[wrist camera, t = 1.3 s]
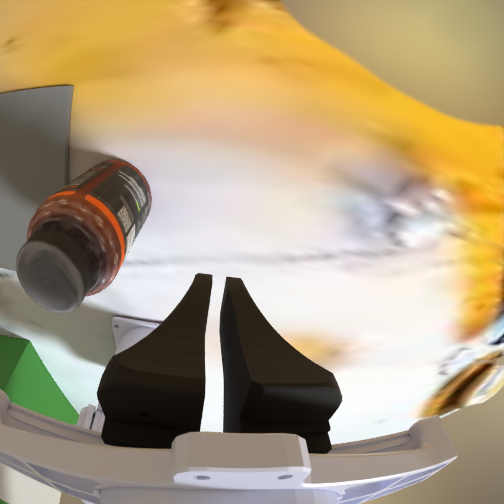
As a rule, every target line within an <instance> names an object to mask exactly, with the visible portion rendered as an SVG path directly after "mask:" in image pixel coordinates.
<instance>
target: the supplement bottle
mask: <svg viewBox="0 0 504 504" xmlns="http://www.w3.org/2000/svg"><path fill="white" fill-rule="evenodd" d="M151 202H152V197H151V191H150V187H149V184H148V182H147V180H146V178H145V177H144V175H143V174H142V173H141V172H140V171H139V170H138V169H137V168H135V167H134V166H132V165H131V164H128V163H126V162H123V161H117V160H111V161H106V162H102V163H100V164H98V165H96V166H94V167H93V168H91V169H89V170H88V171H86V172H85V173H83V174H82V175H80V176H79V177H77V178H76V179H75V180H73V181H72V182H70V183H69V184H67V185H66V186H65V187H63V188H62V189H60V190H59V191H58V192H56V193H55V194H53V195H52V196H51V197H50V198H49V199H47V200H46V201H45V202H43V203H42V204H41V205H40V206H39V207H38V208H37V210H36V211H35V213H34V214H33V216H32V218H31V220H30V223H29V226H28V231H27V242H26V243H25V244H24V245H23V246H22V247H21V249H20V250H19V252H18V254H17V258H16V271H17V276H18V279H19V281H20V283H21V285H22V287H23V289H24V290H25V292H26V293H27V294H28V295H29V297H30V298H31V299H32V300H33V301H34V302H36V303H37V304H38V305H40V306H41V307H43V308H45V309H47V310H49V311H52V312H56V313H69V312H71V311H73V310H75V309H76V308H78V307H79V306H80V304H81V302H82V301H83V299H84V297H85V296H91V295H94V294H96V293H99V292H101V291H102V290H104V289H105V288H107V287H108V286H109V285H110V284H111V282H112V281H113V280H114V278H115V277H116V275H117V273H118V271H119V269H120V267H121V265H122V263H123V261H124V259H125V257H126V256H127V254H128V252H129V250H130V248H131V246H132V244H133V242H134V240H135V238H136V237H137V235H138V233H139V231H140V230H141V228H142V226H143V224H144V222H145V221H146V218H147V216H148V214H149V212H150V208H151Z"/></svg>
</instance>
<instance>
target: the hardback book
mask: <svg viewBox="0 0 504 504" xmlns="http://www.w3.org/2000/svg"><path fill="white" fill-rule="evenodd" d="M0 389H1V390H2V391H4V392H5V394H6V395H7V396H8V398H9V400H10V402H12V403H15V404H17V405H19V406H22V407H24V408H27V409H29V410H32V411H34V412H37V413H40V414H43V415H45V416H48V417H51V418H54V419H57V420H60V421H63V422H66V423H70V424H73V425H77V421H78V418H79V414H78V413H77V412H76V410H75V409H74V408H73V406H72V405H71V404H70V402H69V401H68V400H67V398H66V397H65V395H64V394H63V393H62V391H61V390H60V388H59V387H58V385H57V384H56V382H55V381H54V379H53V378H52V376H51V375H50V373H49V372H48V370H47V369H46V367H45V365H44V364H43V362H42V360H41V359H40V357H39V355H38V354H37V352H36V350H35V349H34V347H33V345H32V343H31V342H30V340H24V339H18V338H13V337H7V336H2V335H0ZM60 496H61V491H59V490H56V489H54V488H51V487H49V486H47V485H45V484H42V483H40V482H38V481H36V480H34V479H32V478H30V477H28V476H26V475H24V474H22V473H20V472H18V471H16V470H14V469H12V468H10V467H8V466H6V465H4V464H2V463H1V462H0V504H59V502H60Z"/></svg>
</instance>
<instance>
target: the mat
mask: <svg viewBox="0 0 504 504" xmlns="http://www.w3.org/2000/svg"><path fill="white" fill-rule="evenodd" d="M73 88H74V86H57V87H46V88H37V89H29V90H21V91H15V92H8V93H3V94H0V268H5V269H9V270H13V271H16V258H17V254H18V252H19V250H20V249H21V247H22V246H23V245H24V244H25V243H26V242H27V231H28V226H29V223H30V220H31V218H32V216H33V214H34V213H35V211H36V210H37V208H38V207H39V206H40V205H41V204H42V203H43V202H45V201H46V200H47V199H49V198H50V197H51V196H52V195H53V194H55V193H56V192H58V191H59V190H60V189H62V188H63V187H65V186H66V185H67V184H68V148H69V129H70V116H71V105H72V96H73Z"/></svg>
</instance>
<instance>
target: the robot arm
mask: <svg viewBox="0 0 504 504" xmlns="http://www.w3.org/2000/svg"><path fill="white" fill-rule="evenodd" d="M211 289H212V275H209V274H201V273H198V274H196V275H195V278H194V280H193V283H192V284H191V286H190V288H189V290H188V291H187V293H186V294H185V296H184V297H183V299H182V300H181V301H180V303H179V304H178V305H177V306H176V308H175V309H174V310H173V311H172V313H171V314H170V315H169V316H168V317H167V318H166V319H165V320H164V321H163V322H162V323H161V324H159V323H153V322H146V321H140V320H133V319H127V318H122V317H113V318H112V321H111V322H112V329H113V335H114V341H115V347H116V351H115V354H114V356H113V357H112V358H111V360H110V361H109V363H108V365H107V367H106V369H105V371H104V373H103V375H102V378H101V381H100V384H99V387H98V391H97V397H98V401H99V403H98V407H97V410H95V408H96V407H95V406H93V405H91V404H89V405H88V407H84V408H82V410H81V412H80V415H79V418H78V421H77V425H73V424H70V423H66V422H63V421H60V420H57V419H54V418H51V417H48V416H45V415H43V414H40V413H37V412H34V411H32V410H29V409H27V408H24V407H22V406H19V405H17V404H15V403H12V402H10V400H9V398H8V396H7V395H6V394H5V392H4V391H2V390H1V389H0V462H1V463H2V464H4V465H6V466H8V467H10V468H12V469H14V470H16V471H18V472H20V473H22V474H24V475H26V476H28V477H30V478H32V479H34V480H36V481H38V482H40V483H42V484H45V485H47V486H49V487H51V488H54V489H56V490H59V491H61V492H64V493H66V494H69V495H71V496H74V497H77V498H80V499H81V500H82V501H83V502H84V503H85V504H360V503H363V502H366V501H369V500H372V499H375V498H378V497H381V496H384V495H387V494H390V493H392V492H395V491H397V490H400V489H403V488H405V487H408V486H411V485H413V484H415V483H418V482H421V481H423V480H425V479H426V478H428V477H430V476H431V475H433V474H434V473H436V472H437V471H439V470H440V469H442V468H443V467H444V466H446V465H447V464H449V463H450V462H451V461H453V460H454V459H455V458H457V453H456V451H455V449H454V447H453V445H452V442H451V440H450V438H449V436H448V434H447V432H446V430H445V428H444V425H443V423H442V421H441V419H440V417H439V415H435V416H432V417H428V418H425V419H421V420H419V421H417V422H416V423H415V424H413V425H412V426H411V427H410V428H409V430H407V431H403V432H399V433H395V434H390V435H386V436H381V437H376V438H371V439H366V440H360V441H354V442H348V443H341V444H334V445H331V443H330V439H329V435H328V432H329V431H330V424H329V421H328V420H329V419H330V418H331V417H332V415H333V414H334V413H335V411H336V410H337V409H338V407H339V406H340V404H341V402H342V395H341V392H340V389H339V386H338V383H337V381H336V379H335V377H334V375H333V373H331V372H330V371H328V370H326V369H324V368H323V367H321V366H319V365H317V364H316V363H314V362H312V361H311V360H310V359H308V358H307V357H305V356H304V355H302V354H301V353H300V352H299V351H297V350H296V349H295V348H294V347H292V346H291V345H290V344H289V343H288V342H287V341H286V340H284V339H283V338H282V337H281V336H280V335H279V334H278V333H277V331H276V330H275V329H274V328H273V327H272V326H271V325H270V324H269V322H268V321H267V320H266V318H265V317H264V316H263V314H262V313H261V312H260V310H259V309H258V307H257V306H256V304H255V303H254V301H253V299H252V298H251V296H250V294H249V292H248V291H247V289H246V287H245V285H244V283H243V281H242V280H241V278H234V277H226V283H225V288H224V294H223V300H222V305H221V311H220V343H221V354H222V364H223V376H224V419H223V433H221V432H200V426H201V419H202V412H203V406H204V399H205V331H206V324H207V317H208V310H209V303H210V296H211ZM117 325H118V326H117Z"/></svg>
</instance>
